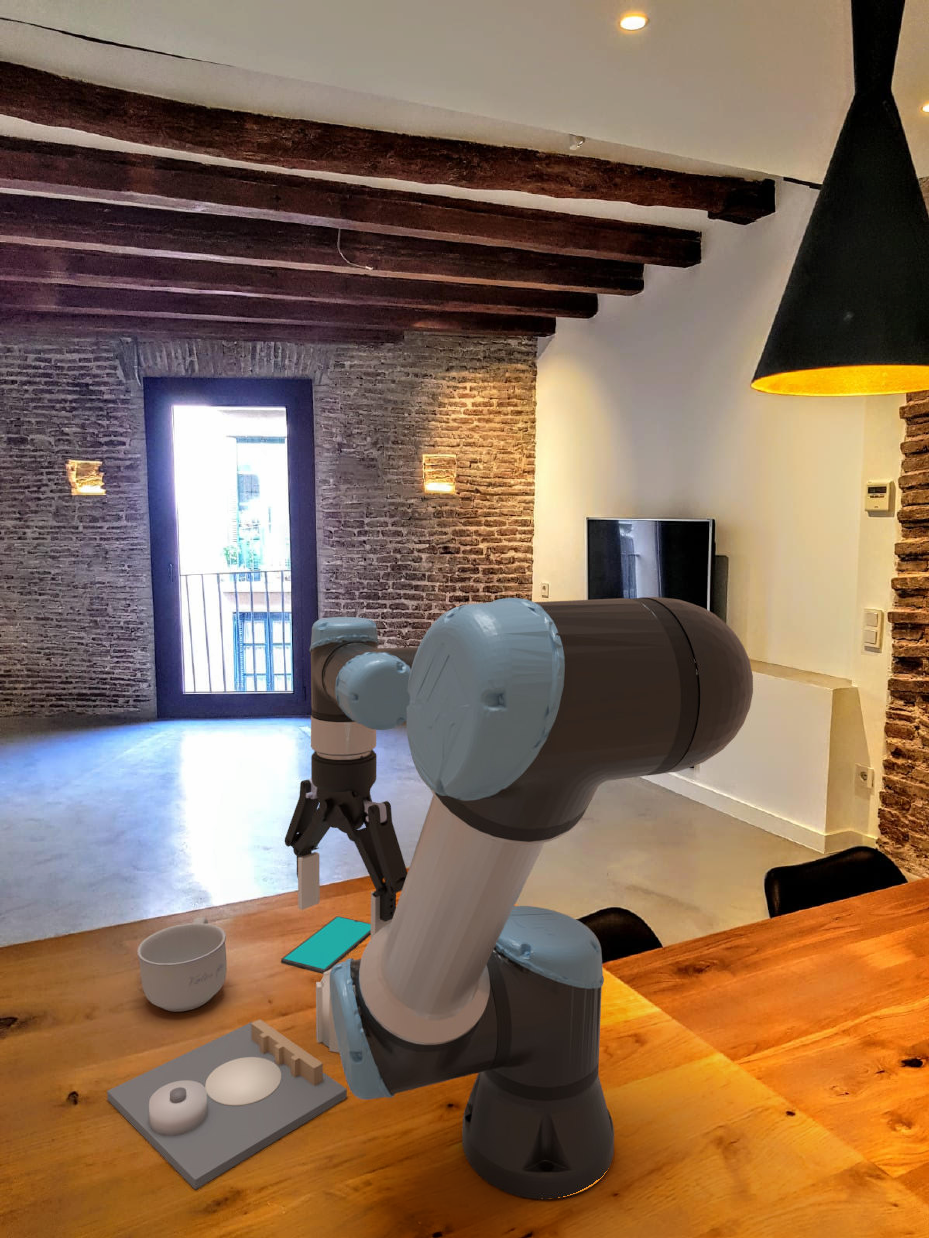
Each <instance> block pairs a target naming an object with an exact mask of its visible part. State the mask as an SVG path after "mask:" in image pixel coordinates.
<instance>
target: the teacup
mask: <svg viewBox="0 0 929 1238" xmlns="http://www.w3.org/2000/svg"><path fill="white" fill-rule="evenodd" d="M226 939H227V935H226V932H225V930H223V928H222V927H220V926H218V925H216V924H211V923H209V920H208V919H207V918H206V917H205V916H199V917H196V918H194V920H193V921H192V922H191V923H189V922H188V923H182V924H177V925H172V926H169V927H166V928H162V929H160V930H158V931H156V932H154V933H153V934H150V935H149V936H147V937H146V938H144V939H143V941H141V943H140V944H139V945H138V948H137V952H136V953H137V957H138V959H139V960H138V961H139V962H138V964H139V972H140V978H141V984H142V986H141V987H142V990H143V993H144V995H145V997H146V999H147V1000H148V1001H149V1002H150V1004H152V1005H155V1006H156V1007H159V1008H161V1009H163V1010H166V1011H168V1012H179V1013H180V1012H185V1011H187V1012H188V1011H190V1010H194V1009H197V1008H199V1007H201V1006H204V1005H205V1004H206V1003H207V1002H209V1001H210V1000H211V999H212V998H213V997H214V996H215V995H216V994H217V993H218V992H219V991H220V990H221V988H222V987H223V985H224V982H225V981H226V978H227V977H226V976H227V970H228V969H227V949H226Z"/></svg>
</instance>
